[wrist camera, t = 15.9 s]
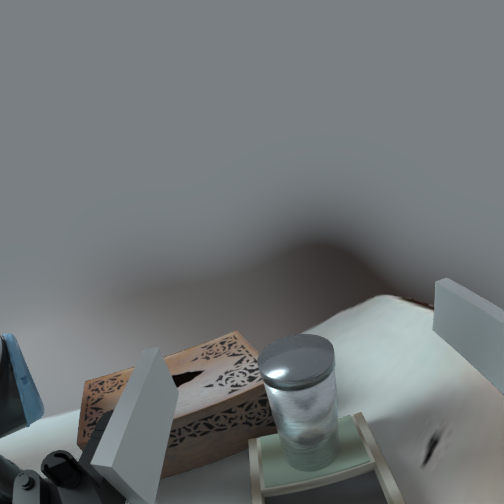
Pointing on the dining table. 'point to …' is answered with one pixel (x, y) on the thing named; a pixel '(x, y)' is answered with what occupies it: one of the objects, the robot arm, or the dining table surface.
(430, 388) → the dining table surface
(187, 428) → the tissue box cover
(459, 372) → the dining table surface
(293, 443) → the canister
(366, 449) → the board
